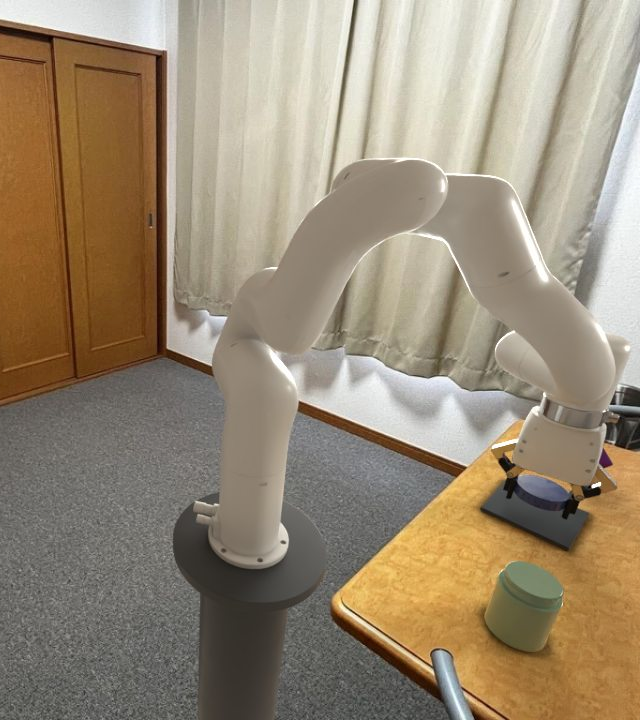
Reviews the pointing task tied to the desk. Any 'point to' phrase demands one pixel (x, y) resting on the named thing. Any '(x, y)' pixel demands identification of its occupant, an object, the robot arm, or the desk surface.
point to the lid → (541, 492)
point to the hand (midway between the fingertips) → (536, 503)
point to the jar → (524, 606)
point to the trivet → (535, 518)
